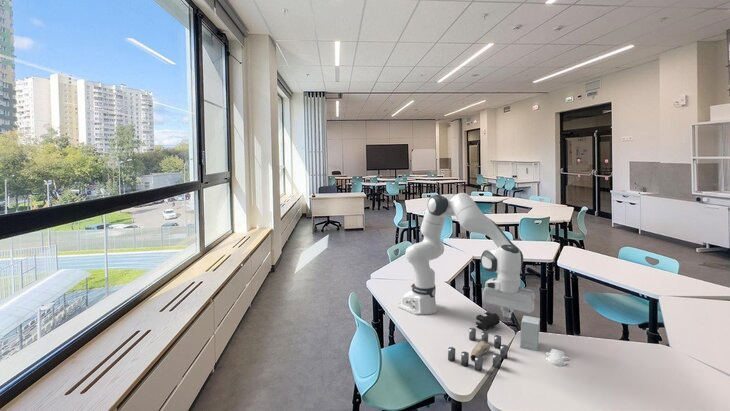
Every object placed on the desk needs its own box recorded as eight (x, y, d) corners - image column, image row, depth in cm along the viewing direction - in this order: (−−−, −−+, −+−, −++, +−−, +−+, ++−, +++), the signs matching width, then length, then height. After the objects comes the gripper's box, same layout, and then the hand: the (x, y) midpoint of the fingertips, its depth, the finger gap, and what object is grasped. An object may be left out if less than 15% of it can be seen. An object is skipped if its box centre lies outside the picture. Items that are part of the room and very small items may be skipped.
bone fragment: (478, 346, 175) (478, 337, 174) (491, 351, 171) (492, 341, 170) (464, 359, 165) (464, 349, 164) (478, 364, 161) (478, 354, 160)
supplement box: (537, 351, 170) (538, 324, 168) (519, 347, 173) (520, 321, 171) (538, 343, 176) (540, 318, 174) (521, 340, 180) (522, 314, 178)
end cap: (486, 333, 187) (486, 320, 186) (475, 327, 193) (475, 315, 192) (499, 327, 192) (500, 315, 191) (488, 322, 198) (488, 310, 197)
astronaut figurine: (570, 356, 166) (571, 350, 165) (564, 369, 157) (565, 362, 156) (549, 350, 171) (549, 343, 171) (541, 362, 162) (542, 355, 162)
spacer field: (446, 360, 164) (447, 349, 163) (470, 336, 183) (470, 327, 182) (492, 376, 152) (493, 365, 151) (513, 350, 171) (513, 339, 170)
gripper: (537, 288, 152) (535, 321, 154) (487, 278, 164) (486, 308, 166) (533, 293, 147) (531, 326, 149) (481, 282, 159) (480, 313, 161)
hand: (507, 317), depth 158 cm, fingers closed
